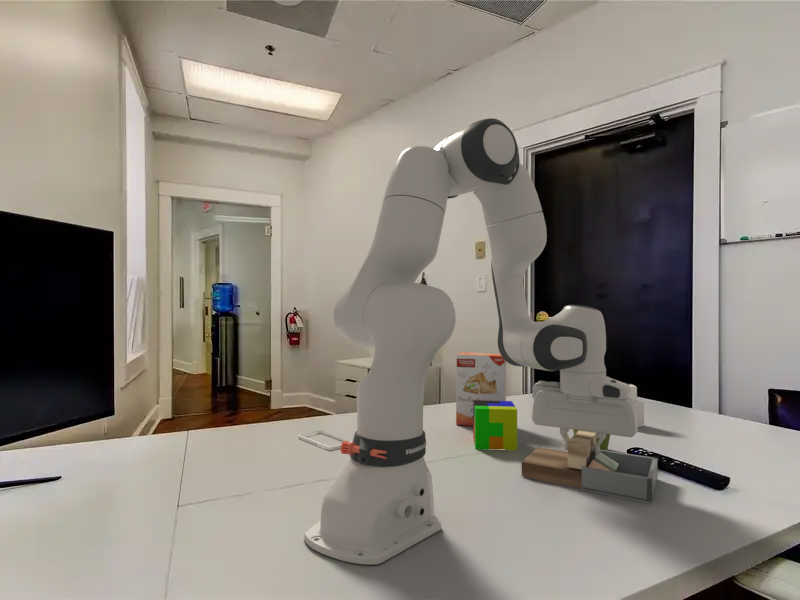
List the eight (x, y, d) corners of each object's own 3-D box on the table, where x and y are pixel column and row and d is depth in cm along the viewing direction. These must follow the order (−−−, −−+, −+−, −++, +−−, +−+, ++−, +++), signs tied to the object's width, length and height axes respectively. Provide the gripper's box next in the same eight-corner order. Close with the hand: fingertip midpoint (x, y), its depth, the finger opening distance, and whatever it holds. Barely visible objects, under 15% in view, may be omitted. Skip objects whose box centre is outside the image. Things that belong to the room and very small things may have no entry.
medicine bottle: (606, 423, 143) (606, 383, 143) (623, 421, 146) (623, 381, 146) (627, 429, 137) (627, 387, 137) (644, 426, 140) (644, 385, 140)
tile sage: (611, 478, 97) (616, 470, 97) (590, 465, 99) (594, 456, 99) (614, 471, 101) (619, 463, 101) (594, 458, 103) (598, 451, 103)
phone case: (353, 446, 122) (320, 434, 133) (353, 441, 122) (320, 429, 133) (329, 452, 117) (297, 439, 128) (329, 447, 117) (297, 434, 128)
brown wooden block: (582, 488, 94) (582, 472, 94) (521, 476, 100) (521, 461, 100) (593, 470, 104) (593, 456, 104) (537, 460, 110) (537, 447, 110)
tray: (652, 503, 86) (652, 479, 86) (581, 490, 93) (581, 467, 93) (657, 479, 98) (657, 458, 98) (594, 468, 105) (594, 448, 105)
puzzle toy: (511, 439, 127) (511, 401, 127) (517, 450, 117) (517, 409, 117) (473, 438, 128) (473, 400, 128) (475, 449, 118) (475, 408, 118)
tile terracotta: (606, 488, 92) (611, 480, 91) (583, 474, 94) (588, 466, 93) (609, 481, 96) (614, 473, 95) (588, 467, 98) (592, 459, 97)
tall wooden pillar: (586, 470, 94) (586, 444, 94) (567, 466, 96) (568, 441, 96) (595, 455, 103) (596, 432, 103) (578, 452, 105) (579, 429, 105)
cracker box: (455, 425, 141) (455, 353, 141) (459, 420, 147) (459, 351, 147) (504, 429, 137) (504, 355, 137) (506, 424, 143) (506, 353, 143)
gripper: (527, 382, 102) (527, 447, 102) (635, 391, 91) (635, 464, 91) (536, 378, 107) (536, 440, 107) (638, 386, 97) (638, 455, 97)
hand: (582, 451), depth 99 cm, fingers closed on tall wooden pillar, 4 cm apart
